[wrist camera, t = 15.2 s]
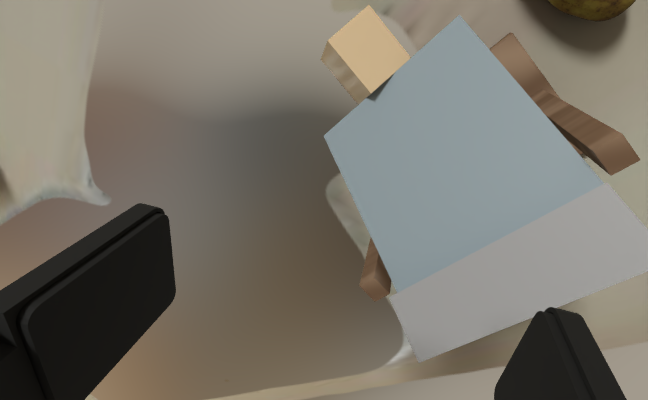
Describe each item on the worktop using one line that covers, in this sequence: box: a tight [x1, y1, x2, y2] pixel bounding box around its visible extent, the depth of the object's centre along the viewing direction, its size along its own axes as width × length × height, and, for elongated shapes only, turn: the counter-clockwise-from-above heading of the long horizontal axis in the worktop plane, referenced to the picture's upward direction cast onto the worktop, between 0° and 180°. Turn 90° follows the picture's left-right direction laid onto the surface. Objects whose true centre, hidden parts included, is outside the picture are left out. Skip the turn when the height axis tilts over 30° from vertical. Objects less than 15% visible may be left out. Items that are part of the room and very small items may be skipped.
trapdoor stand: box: [359, 33, 640, 301], centre depth 33 cm, size 14×22×17 cm, turn 134°
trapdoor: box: [324, 15, 648, 363], centre depth 29 cm, size 22×16×4 cm
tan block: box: [321, 5, 411, 105], centre depth 35 cm, size 5×5×6 cm
